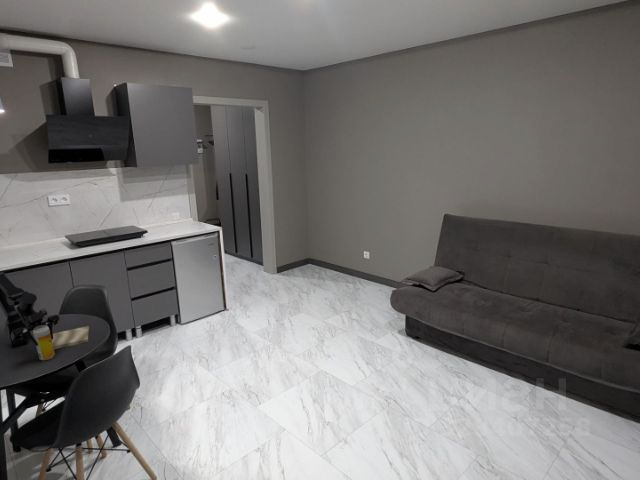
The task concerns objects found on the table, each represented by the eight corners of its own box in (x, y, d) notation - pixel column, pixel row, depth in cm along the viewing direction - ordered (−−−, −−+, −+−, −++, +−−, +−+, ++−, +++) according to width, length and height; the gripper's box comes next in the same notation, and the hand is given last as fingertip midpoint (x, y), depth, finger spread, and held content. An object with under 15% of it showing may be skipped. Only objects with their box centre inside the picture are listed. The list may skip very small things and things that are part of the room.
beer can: (58, 354, 187) (51, 325, 183) (46, 361, 182) (38, 331, 178) (48, 353, 189) (41, 323, 185) (36, 360, 184) (28, 330, 180)
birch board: (49, 350, 191) (48, 347, 191) (53, 336, 205) (53, 333, 205) (88, 341, 198) (87, 339, 198) (89, 328, 212) (89, 325, 212)
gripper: (7, 313, 173) (24, 343, 170) (53, 298, 188) (70, 325, 185) (3, 326, 180) (20, 355, 177) (48, 310, 195) (65, 336, 192)
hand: (45, 342), depth 182 cm, fingers closed on beer can, 6 cm apart
